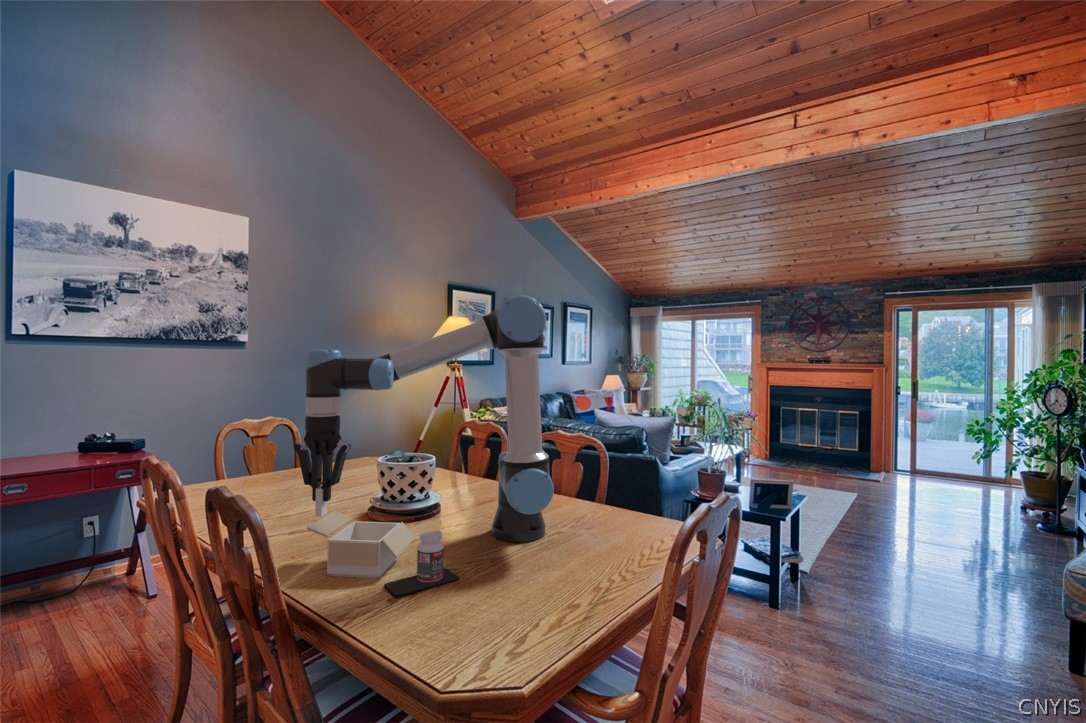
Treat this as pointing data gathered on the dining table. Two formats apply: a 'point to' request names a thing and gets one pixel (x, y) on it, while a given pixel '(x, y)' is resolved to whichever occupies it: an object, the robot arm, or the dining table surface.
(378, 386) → the robot arm
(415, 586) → the smartphone
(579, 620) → the dining table surface
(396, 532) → the flap
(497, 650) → the dining table surface
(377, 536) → the carton
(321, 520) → the flap
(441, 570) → the pill bottle
